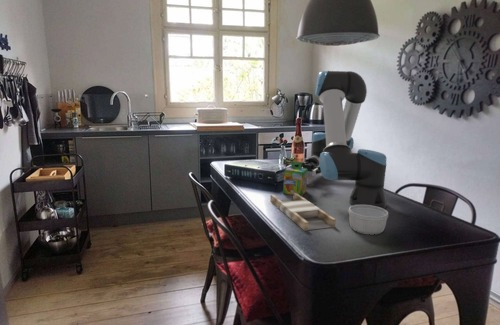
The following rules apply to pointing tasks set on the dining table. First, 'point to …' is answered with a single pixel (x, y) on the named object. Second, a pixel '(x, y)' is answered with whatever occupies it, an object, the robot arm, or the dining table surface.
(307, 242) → the dining table surface
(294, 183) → the chalk box
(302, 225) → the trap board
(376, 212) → the ramekin
